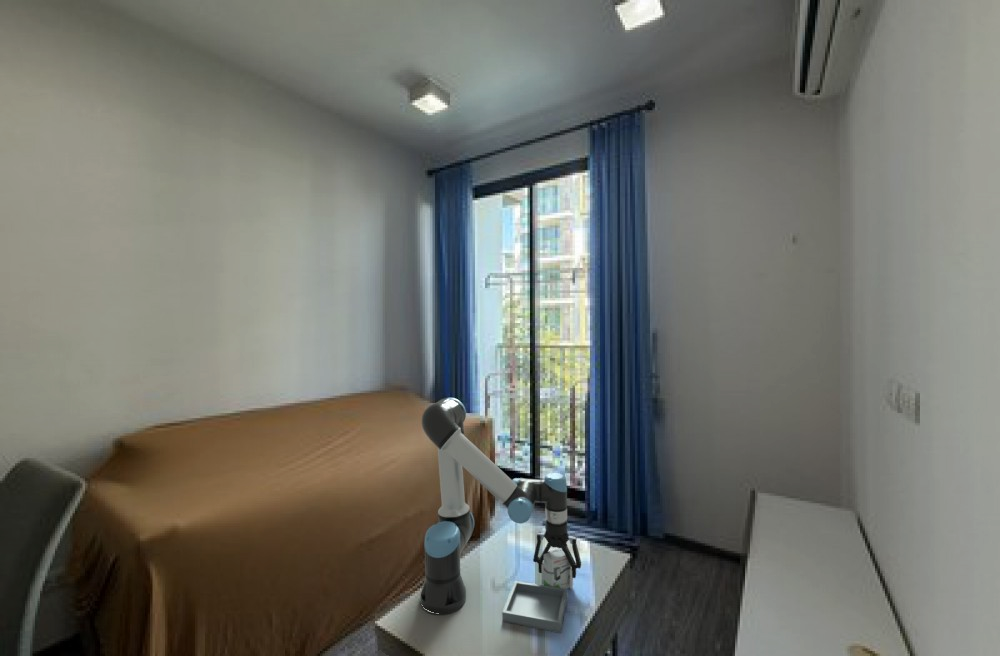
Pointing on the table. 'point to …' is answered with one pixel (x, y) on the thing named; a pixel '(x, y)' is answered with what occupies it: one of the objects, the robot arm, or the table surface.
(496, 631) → the table surface
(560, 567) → the ink box
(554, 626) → the parts tray
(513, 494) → the robot arm
